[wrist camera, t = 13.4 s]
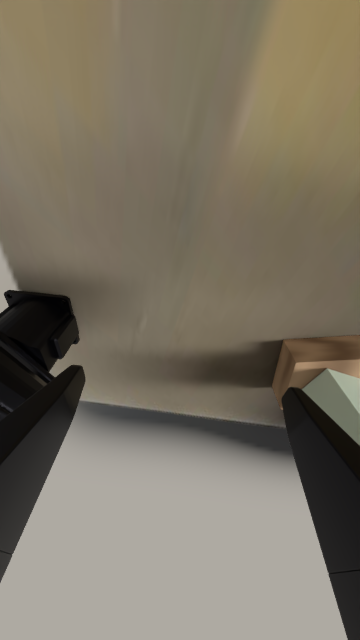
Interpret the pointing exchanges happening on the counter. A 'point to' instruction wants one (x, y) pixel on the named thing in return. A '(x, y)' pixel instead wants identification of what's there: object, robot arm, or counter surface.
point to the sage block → (338, 399)
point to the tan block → (314, 361)
